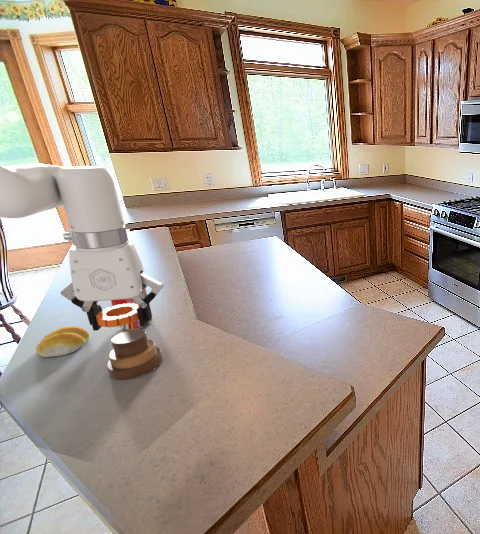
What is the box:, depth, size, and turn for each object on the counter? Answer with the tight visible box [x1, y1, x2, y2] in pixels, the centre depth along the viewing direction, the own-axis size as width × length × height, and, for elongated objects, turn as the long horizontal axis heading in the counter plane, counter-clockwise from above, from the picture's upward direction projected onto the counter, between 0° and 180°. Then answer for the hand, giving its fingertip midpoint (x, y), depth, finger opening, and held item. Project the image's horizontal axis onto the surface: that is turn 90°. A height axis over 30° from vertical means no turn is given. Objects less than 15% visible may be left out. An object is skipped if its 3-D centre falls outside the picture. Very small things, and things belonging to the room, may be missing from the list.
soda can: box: [110, 288, 153, 331], centre depth 87 cm, size 7×7×12 cm
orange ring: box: [96, 303, 139, 328], centre depth 69 cm, size 7×7×2 cm
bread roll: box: [35, 325, 90, 358], centre depth 78 cm, size 8×9×4 cm
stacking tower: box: [106, 328, 163, 381], centre depth 72 cm, size 9×9×7 cm
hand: (123, 324), depth 70 cm, fingers closed on orange ring, 7 cm apart
